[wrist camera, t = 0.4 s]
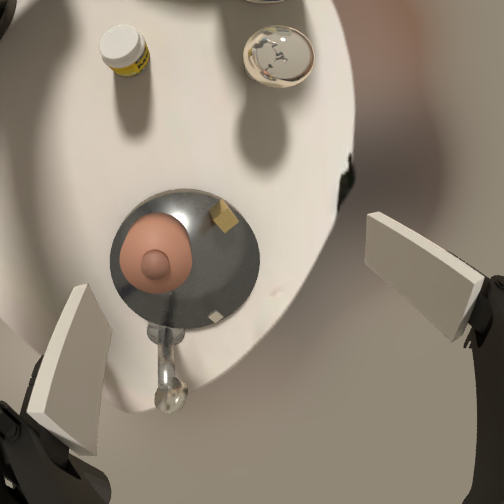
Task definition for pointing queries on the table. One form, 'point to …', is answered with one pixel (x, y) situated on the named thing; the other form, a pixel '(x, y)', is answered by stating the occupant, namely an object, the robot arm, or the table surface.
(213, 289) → the turntable
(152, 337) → the gauge post
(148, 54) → the supplement bottle
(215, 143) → the table surface
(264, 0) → the supplement tub
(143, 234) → the cover
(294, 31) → the light bulb
